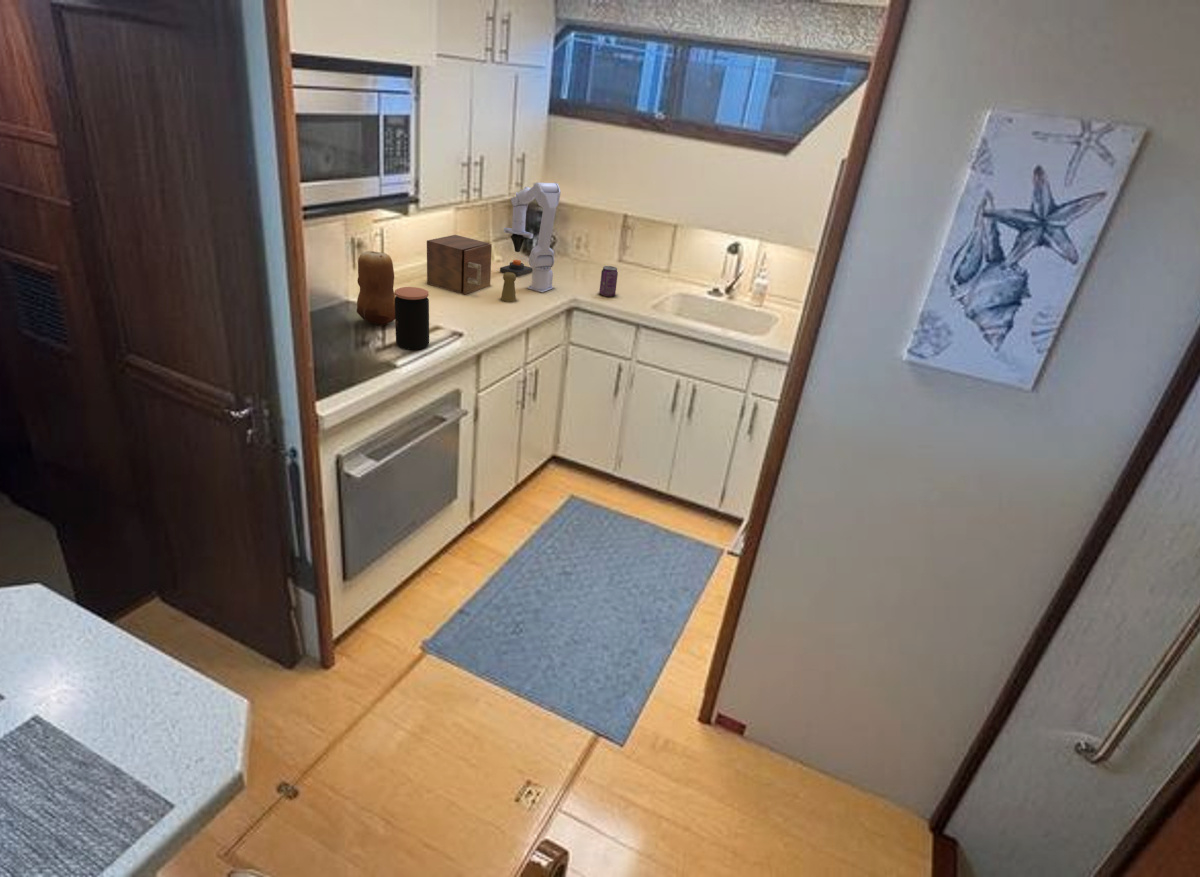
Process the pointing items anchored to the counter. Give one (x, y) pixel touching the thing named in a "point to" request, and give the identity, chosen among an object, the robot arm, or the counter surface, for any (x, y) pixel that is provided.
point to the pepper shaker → (509, 287)
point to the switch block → (516, 269)
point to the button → (516, 262)
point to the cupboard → (448, 261)
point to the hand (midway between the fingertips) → (517, 251)
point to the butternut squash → (376, 288)
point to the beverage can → (608, 281)
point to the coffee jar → (412, 318)
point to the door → (477, 268)
